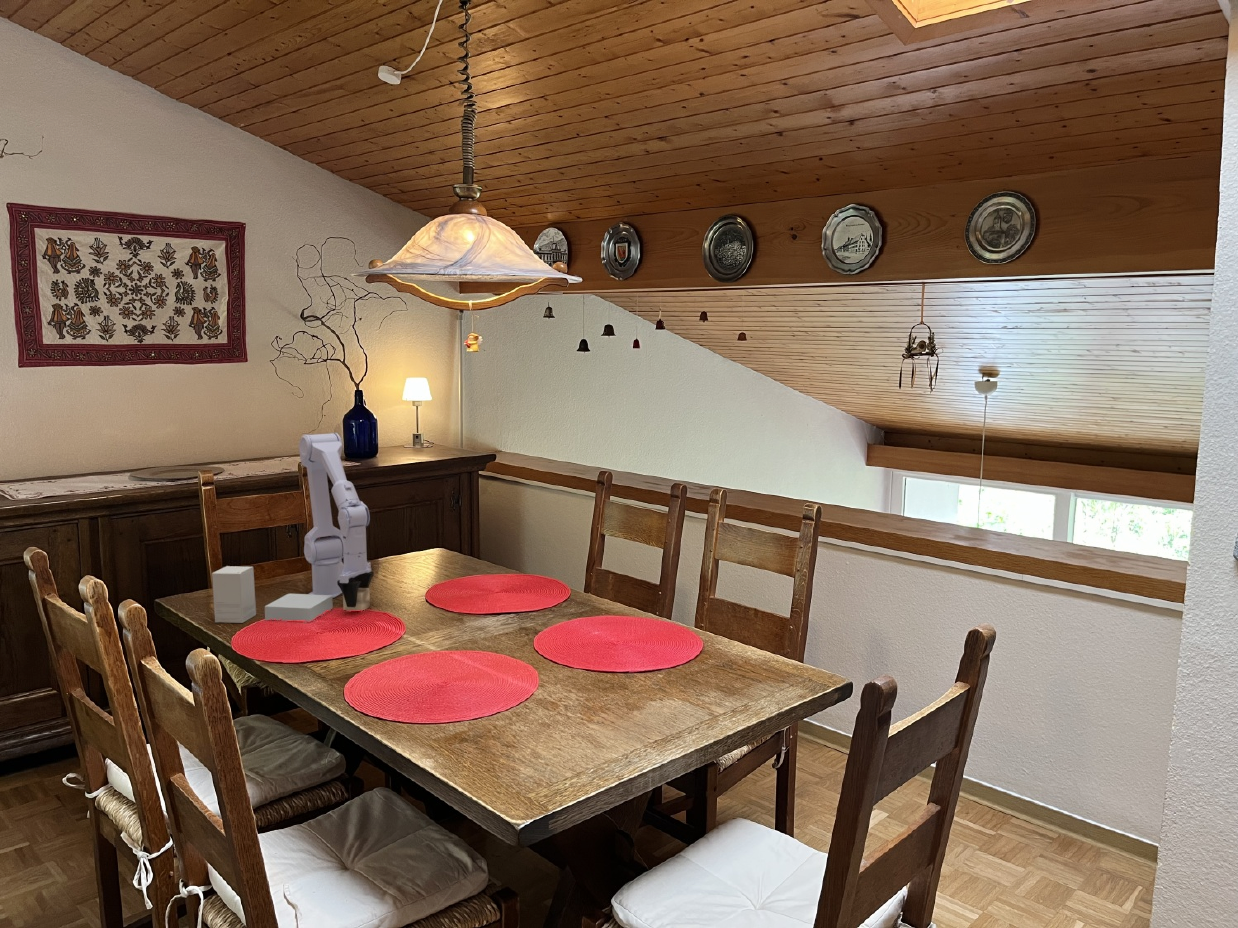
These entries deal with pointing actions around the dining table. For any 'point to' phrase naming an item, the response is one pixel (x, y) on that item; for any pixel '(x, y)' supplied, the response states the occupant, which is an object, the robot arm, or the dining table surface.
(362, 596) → the birch cube
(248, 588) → the supplement box
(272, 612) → the grey block
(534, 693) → the dining table surface
